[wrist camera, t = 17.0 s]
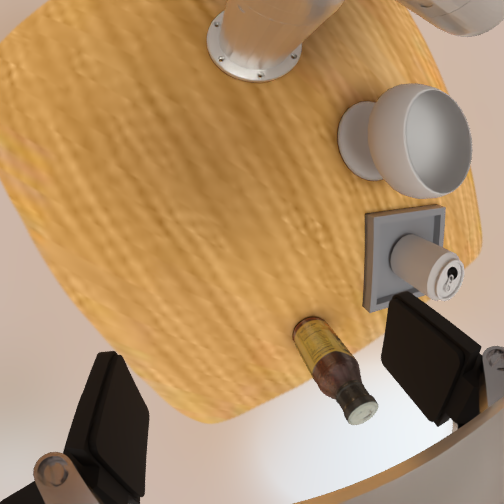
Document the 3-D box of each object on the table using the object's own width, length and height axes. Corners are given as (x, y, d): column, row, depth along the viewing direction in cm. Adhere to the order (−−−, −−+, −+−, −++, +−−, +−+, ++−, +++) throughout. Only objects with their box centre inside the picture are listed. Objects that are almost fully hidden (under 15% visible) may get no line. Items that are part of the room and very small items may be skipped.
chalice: (323, 94, 35) (386, 70, 21) (400, 98, 37) (470, 88, 23) (335, 191, 40) (401, 212, 26) (409, 182, 41) (478, 199, 27)
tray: (364, 213, 42) (373, 217, 39) (436, 204, 44) (445, 207, 41) (362, 306, 47) (369, 312, 45) (429, 285, 49) (437, 290, 47)
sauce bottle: (326, 340, 48) (382, 422, 29) (292, 349, 47) (338, 440, 28) (325, 308, 46) (391, 389, 27) (289, 318, 45) (341, 409, 26)
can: (426, 243, 45) (474, 266, 33) (407, 280, 46) (451, 311, 35) (400, 225, 43) (452, 247, 31) (380, 266, 44) (426, 298, 33)
